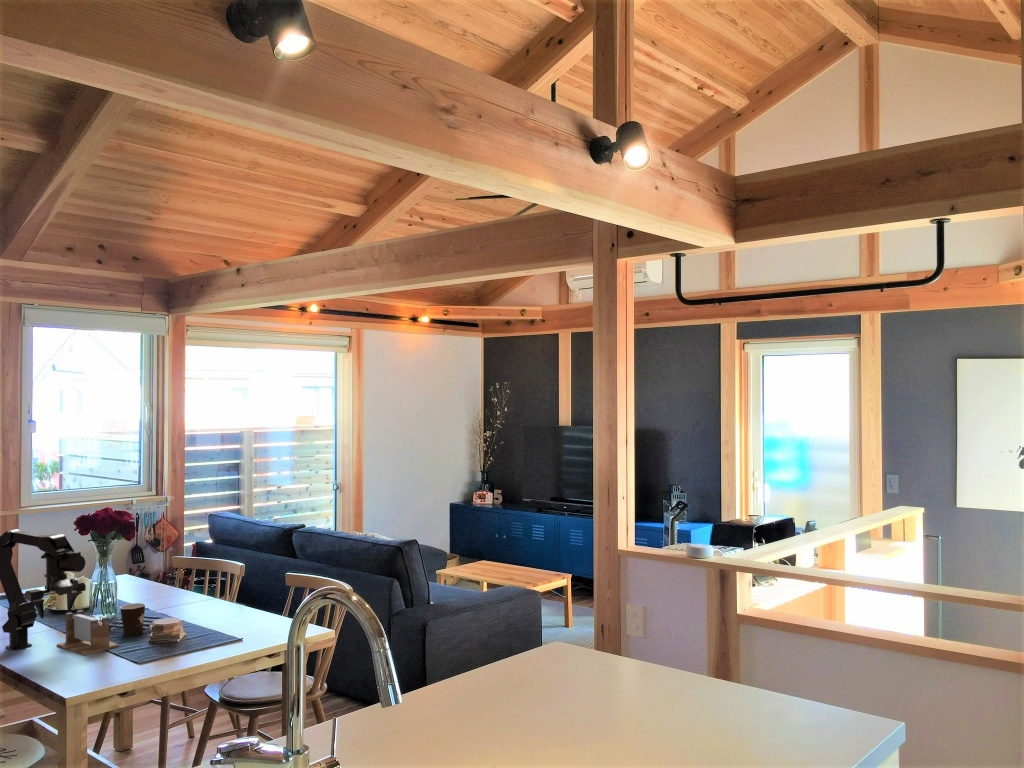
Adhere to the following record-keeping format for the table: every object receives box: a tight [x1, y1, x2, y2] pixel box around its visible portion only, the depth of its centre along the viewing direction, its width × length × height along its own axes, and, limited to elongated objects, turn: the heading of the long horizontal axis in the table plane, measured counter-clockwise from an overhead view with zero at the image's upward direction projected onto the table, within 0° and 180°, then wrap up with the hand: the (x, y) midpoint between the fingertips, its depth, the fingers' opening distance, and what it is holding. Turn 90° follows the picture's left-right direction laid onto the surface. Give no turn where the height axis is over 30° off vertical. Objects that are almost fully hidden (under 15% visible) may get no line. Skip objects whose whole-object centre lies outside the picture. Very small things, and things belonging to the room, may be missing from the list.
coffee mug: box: [119, 602, 146, 636], centre depth 314 cm, size 12×9×10 cm
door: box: [73, 613, 103, 643], centre depth 296 cm, size 19×2×8 cm, turn 54°
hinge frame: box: [56, 609, 120, 656], centre depth 296 cm, size 20×12×11 cm, turn 53°
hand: (55, 615), depth 294 cm, fingers open, 9 cm apart
